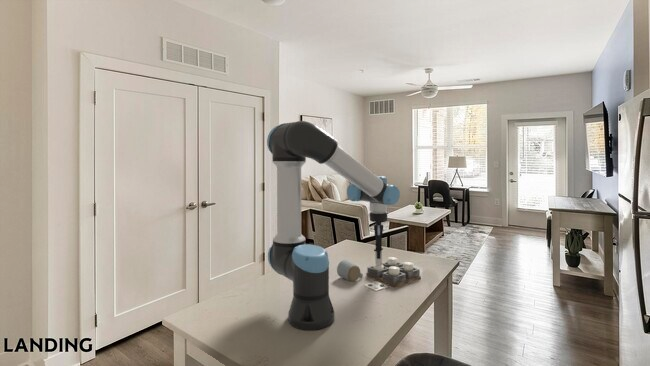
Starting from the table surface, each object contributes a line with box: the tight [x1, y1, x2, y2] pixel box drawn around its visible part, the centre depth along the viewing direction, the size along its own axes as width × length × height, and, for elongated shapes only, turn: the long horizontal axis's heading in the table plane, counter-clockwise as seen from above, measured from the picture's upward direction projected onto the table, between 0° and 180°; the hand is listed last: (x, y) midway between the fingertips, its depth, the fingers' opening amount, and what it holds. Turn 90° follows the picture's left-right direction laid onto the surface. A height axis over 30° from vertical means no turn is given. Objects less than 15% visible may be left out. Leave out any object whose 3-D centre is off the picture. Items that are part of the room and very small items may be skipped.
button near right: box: [389, 266, 400, 277], centre depth 139 cm, size 4×4×3 cm
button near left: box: [372, 263, 384, 271], centre depth 146 cm, size 4×4×3 cm
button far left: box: [386, 256, 398, 266], centre depth 151 cm, size 4×4×3 cm
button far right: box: [402, 261, 414, 272], centre depth 144 cm, size 4×4×3 cm
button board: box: [366, 261, 422, 289], centre depth 145 cm, size 16×17×4 cm
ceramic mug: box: [336, 259, 364, 282], centre depth 144 cm, size 11×8×8 cm
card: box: [363, 280, 389, 292], centre depth 136 cm, size 7×7×1 cm
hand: (378, 265), depth 146 cm, fingers closed
